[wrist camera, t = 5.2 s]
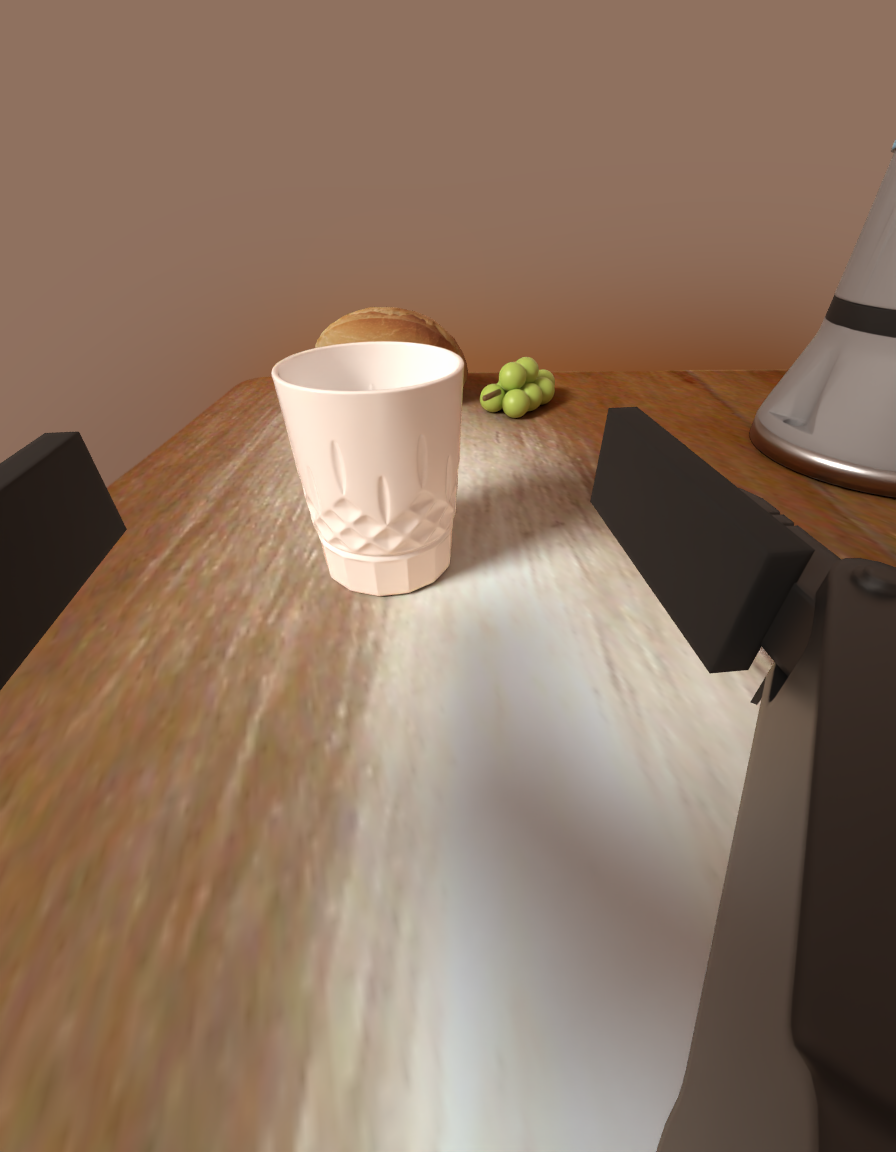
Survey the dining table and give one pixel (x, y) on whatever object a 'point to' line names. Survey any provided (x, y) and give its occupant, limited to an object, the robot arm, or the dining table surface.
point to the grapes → (519, 388)
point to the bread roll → (389, 330)
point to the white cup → (377, 457)
